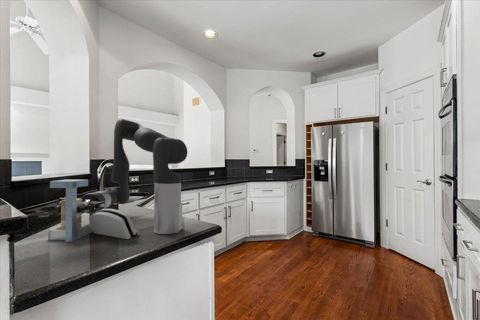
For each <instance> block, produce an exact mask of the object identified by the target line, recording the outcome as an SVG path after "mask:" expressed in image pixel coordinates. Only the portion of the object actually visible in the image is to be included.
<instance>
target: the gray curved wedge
mask: <svg viewBox="0 0 480 320" xmlns="http://www.w3.org/2000/svg"><path fill="white" fill-rule="evenodd" d="M88 219H89V222H90V223H91V227H92V234H96V235H101V236H102V235H104V236H109V237H114V238H119V239H126V240H129V239H131V238H132V236H140V233H139V230H138V229H135V227H134V224H133V222H132V220H131V217H130V215H129V214H128V213H125V212H123V211H121V210H118V209H115V208H105V209H103V210H100V211H97V212H94V213H91V214H90V215H89V216H88ZM90 223H89V224H90Z"/></svg>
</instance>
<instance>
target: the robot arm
mask: <svg viewBox="0 0 480 320" xmlns="http://www.w3.org/2000/svg"><path fill="white" fill-rule="evenodd" d="M123 140H127V141H131V142H134V143H135V144H134V145H136V146H137V147H139V149H141V150H143V151H145V152H149V153H152V161H153V162H152V163H153V165H152V166H153V178H154V189H153V190H154V195H153V197H154V199H153V200H154V203H153V206H154V207H153V208H154V209H153V233H154V234H159V235H170V234H179V233H180V231H181V230H182V229H183V202H182V176H181V174H179V173H176V172H174V171H172V170H171V169H170V168H169V165H177V164H181V163H183V162H184V161H185V160H186V159H187V156H188V148H187V145H186V144H185V142H184V141H183V140H181V139H179V138H172V137H170V136H169V137H168V136H167V135H164V134H162V133H161V132H158V131H157V130H154V129H152V128H149V127H146V126H145V127H144V126H143V125H142V124H139V123H138V122H136V121H133V120H129V119H124V118H120V119H119V118H118V120H117V121H116V123H115V125H114V131H113V163H112V170H111V177H110V181H111V182H112V183H116V184H118V185H119V187H108V188H106V189H105V190H102V191H93V192H90V193H85V194H84V195H83V196H82V197H81V198H80V199H82V205H79V206H77V208H76V213H80V212H82V213H83V212H84V213H86V214H93V213H95V212H97V211H100V210H103V209H108V208H109V207H112V206H113V205H116V204H117V205H118V204H119V205H125V204H127V203H128V201H129V200H130V187H129V174H130V173H129V172H130V162H129V158H128V156H127V154H126V152H125V149H124V143H123ZM54 212H55V214H61V202H60V203H58V205H57V206H55V207H54Z"/></svg>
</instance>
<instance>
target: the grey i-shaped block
mask: <svg viewBox="0 0 480 320" xmlns="http://www.w3.org/2000/svg"><path fill="white" fill-rule="evenodd" d="M88 186H89V179H59V180H52V181H51V180H50V181H49V188H50V189H65V200H66V213H65V230H61V225H59V226H56V227H53V228H52V229H51V228H50V229H48V230H47V240H48V241H64V243H73V242H75V241H77V240H79V239H80V238H83V237H85V236H87V235H89V234H91V233H93V231H92V227H91V223H88V224H85V225H83V226H81V227H80V228H78V229H76V208H77V199H78V196H77V195H78V193H77V192H78V188H81V187H88Z"/></svg>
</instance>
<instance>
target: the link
mask: <svg viewBox="0 0 480 320" xmlns="http://www.w3.org/2000/svg"><path fill="white" fill-rule="evenodd" d="M60 203H61V213H60V226H61V230H65V213H66V199H63V200H61V202H60ZM79 205H82V199H81V198H77V206H79ZM82 213H83V212H80V213H76V229H78V228H80V227H82V215H83V214H82Z"/></svg>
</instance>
